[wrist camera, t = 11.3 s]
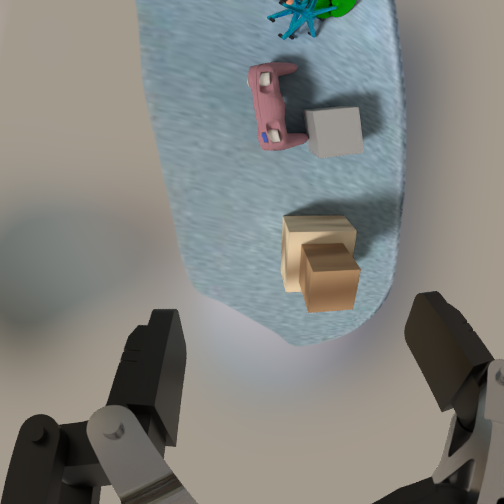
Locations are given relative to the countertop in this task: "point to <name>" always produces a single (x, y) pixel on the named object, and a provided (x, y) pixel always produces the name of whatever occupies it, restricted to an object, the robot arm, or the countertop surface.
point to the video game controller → (272, 106)
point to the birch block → (310, 241)
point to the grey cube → (333, 131)
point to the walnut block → (328, 277)
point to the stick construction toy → (311, 12)
